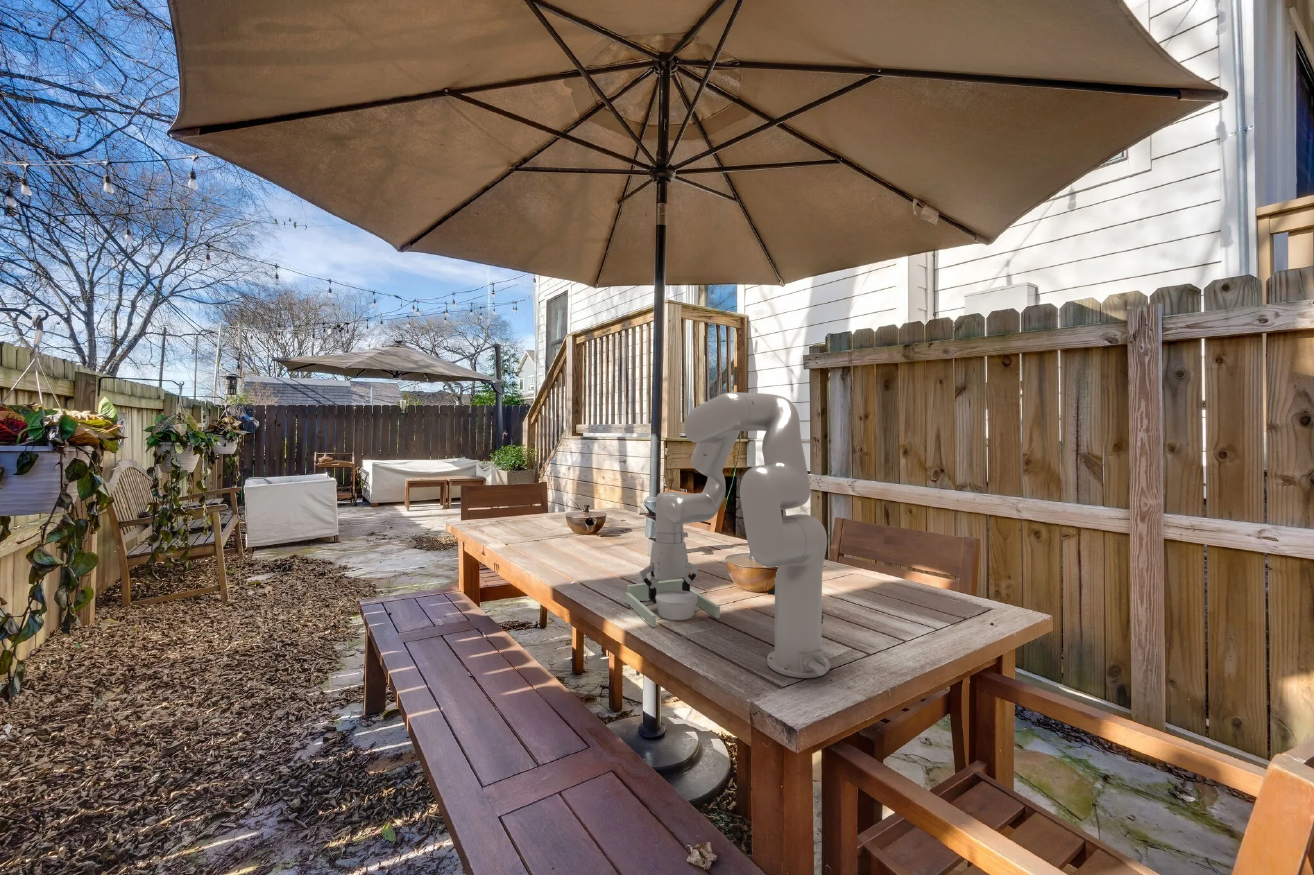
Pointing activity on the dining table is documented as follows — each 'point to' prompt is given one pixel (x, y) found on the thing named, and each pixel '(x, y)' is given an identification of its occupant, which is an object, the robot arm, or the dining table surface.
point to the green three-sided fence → (642, 591)
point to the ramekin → (676, 604)
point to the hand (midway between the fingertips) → (669, 599)
